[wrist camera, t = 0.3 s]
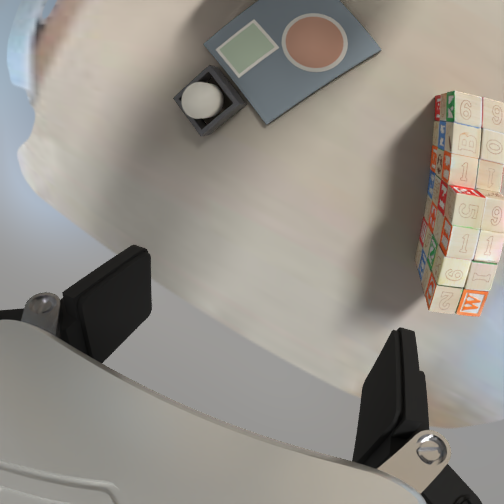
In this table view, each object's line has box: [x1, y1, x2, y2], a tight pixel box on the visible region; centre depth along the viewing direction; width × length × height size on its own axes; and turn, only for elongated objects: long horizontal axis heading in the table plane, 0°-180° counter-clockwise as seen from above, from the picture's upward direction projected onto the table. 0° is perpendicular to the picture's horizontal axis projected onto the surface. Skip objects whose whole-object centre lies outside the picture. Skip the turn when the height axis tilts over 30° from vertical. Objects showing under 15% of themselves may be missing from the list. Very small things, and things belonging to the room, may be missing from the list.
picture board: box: [204, 0, 381, 124], centre depth 32 cm, size 17×14×1 cm
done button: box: [181, 82, 224, 119], centre depth 36 cm, size 5×5×2 cm
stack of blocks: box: [415, 91, 504, 316], centre depth 28 cm, size 21×6×12 cm, turn 1°
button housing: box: [173, 65, 247, 136], centre depth 37 cm, size 7×7×2 cm
